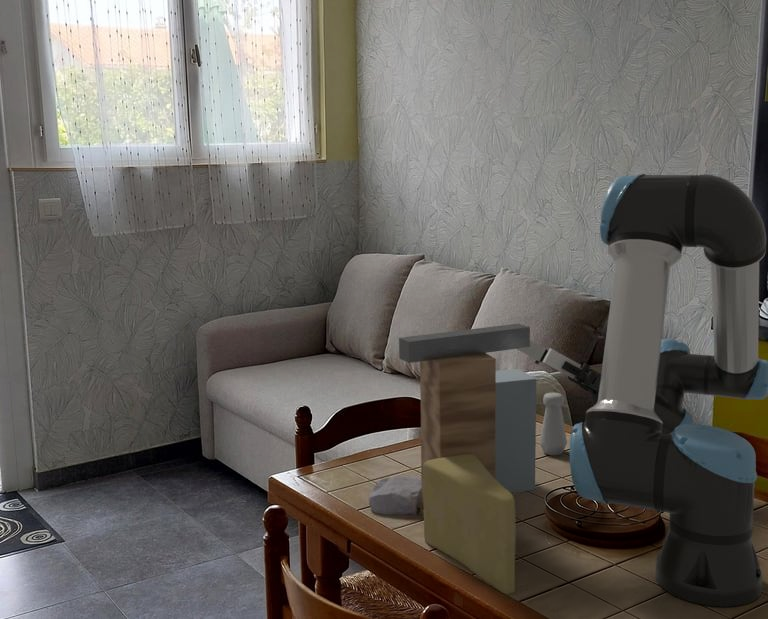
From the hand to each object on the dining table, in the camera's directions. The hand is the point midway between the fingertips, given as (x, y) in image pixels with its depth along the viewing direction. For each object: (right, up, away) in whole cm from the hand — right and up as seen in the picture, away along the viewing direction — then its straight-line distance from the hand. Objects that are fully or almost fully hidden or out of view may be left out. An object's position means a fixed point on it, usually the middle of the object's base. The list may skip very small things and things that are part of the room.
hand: (529, 347), depth 160 cm
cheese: (-11, -34, -16) cm, 39 cm away
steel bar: (-12, -1, -3) cm, 12 cm away
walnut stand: (-13, -31, +1) cm, 33 cm away
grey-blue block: (-5, -28, +15) cm, 32 cm away
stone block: (-23, -30, +9) cm, 39 cm away
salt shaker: (+10, -24, +34) cm, 43 cm away
